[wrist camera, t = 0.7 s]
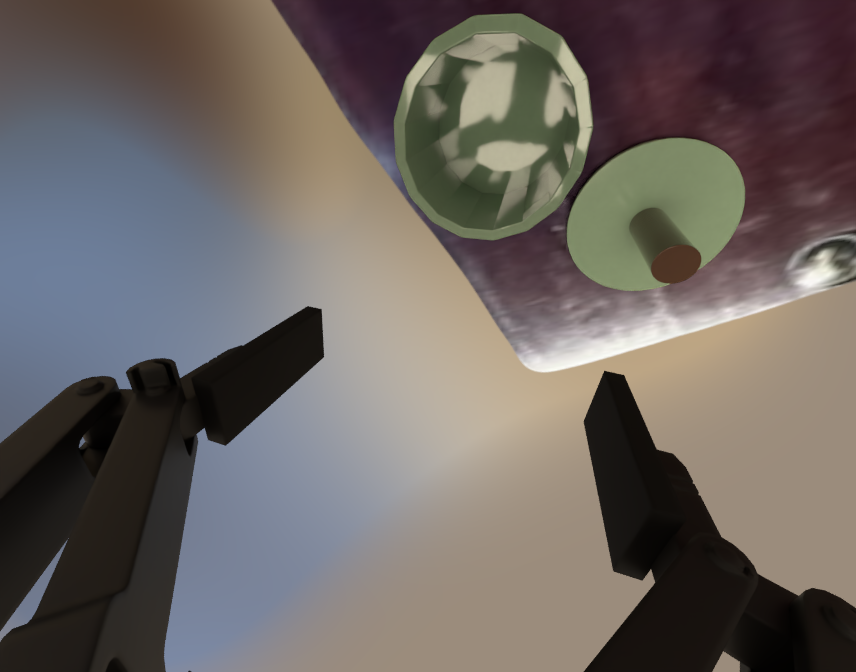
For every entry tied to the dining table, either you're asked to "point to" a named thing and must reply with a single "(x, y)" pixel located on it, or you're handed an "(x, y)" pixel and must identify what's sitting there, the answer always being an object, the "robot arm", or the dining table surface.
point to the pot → (493, 126)
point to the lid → (655, 214)
